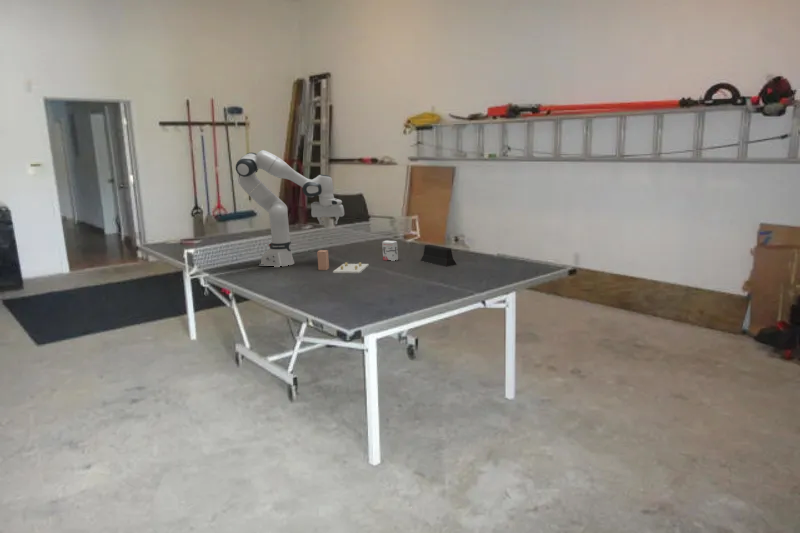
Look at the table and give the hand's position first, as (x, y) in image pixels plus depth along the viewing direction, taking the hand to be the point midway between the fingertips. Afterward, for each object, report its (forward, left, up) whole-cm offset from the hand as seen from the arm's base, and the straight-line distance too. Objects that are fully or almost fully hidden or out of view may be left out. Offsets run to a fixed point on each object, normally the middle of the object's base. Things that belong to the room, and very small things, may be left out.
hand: (328, 224), depth 346 cm
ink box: (+35, +12, -25) cm, 45 cm away
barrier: (+66, +5, -25) cm, 71 cm away
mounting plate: (+17, -14, -25) cm, 33 cm away
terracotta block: (0, -14, -25) cm, 28 cm away
